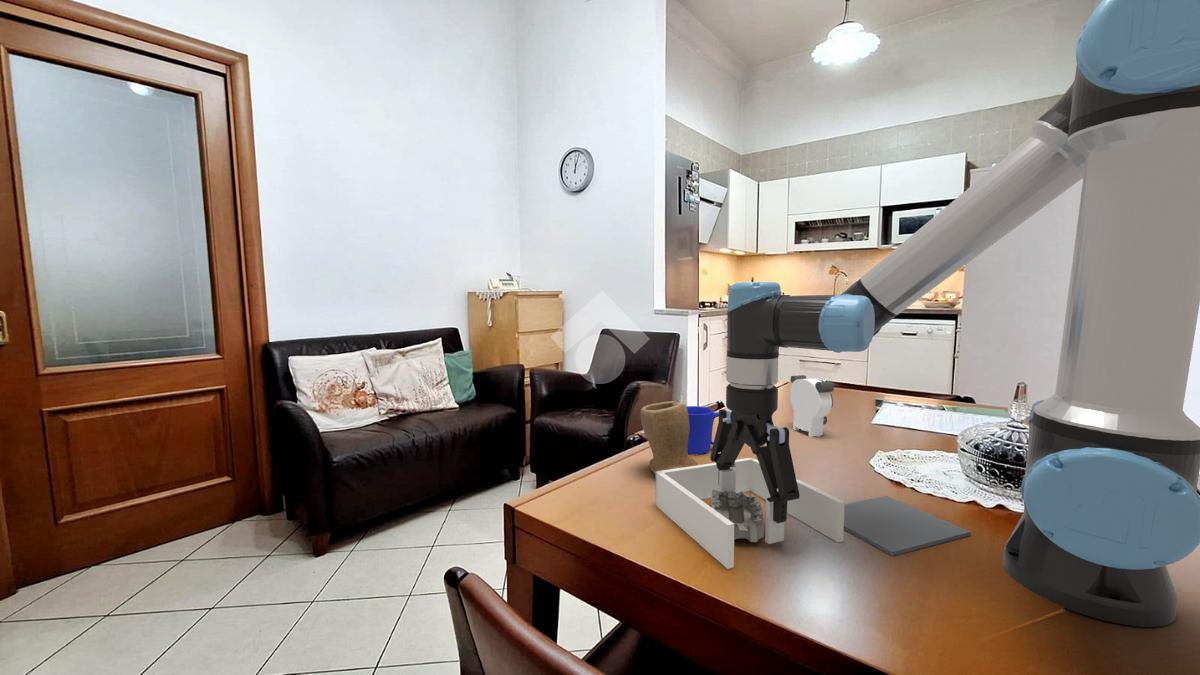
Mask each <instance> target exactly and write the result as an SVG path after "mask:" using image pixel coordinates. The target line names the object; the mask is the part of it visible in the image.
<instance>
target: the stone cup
mask: <svg viewBox="0 0 1200 675" xmlns="http://www.w3.org/2000/svg"><path fill="white" fill-rule="evenodd" d="M640 421H641V422H640V423H641V426H642V430H643V432H644V435H645V437H646V439H647V441H648V444H649V447H650V450H651V453H652V459H650V460H649V462H648V463H649V464H648V465H649V469H650V470H651V471H652V473H654V476H656V471H663V470H670V469H676V468H683V467H690V466H697V465H700V464H699V463H698V462H697V461H696V460H694V459H693V458H691V457H689V454H688V453H687V446H688V438H689V431H690V426H689V417H688V410H687V408H686V404H685V403H684V402H678V401H674V400H672V401H663V402H657V403H656V402H655V403H650V404H647V405H645V406H643V407H642V408H641V409H640Z"/></svg>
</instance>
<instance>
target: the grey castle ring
mask: <svg viewBox="0 0 1200 675" xmlns="http://www.w3.org/2000/svg"><path fill="white" fill-rule="evenodd" d="M710 499H711V500H710V501H711V502H710V505H711V506H710V507H712V508H713V509H714V510H716V511H717V512H719V513H720V514H721V515H723V516H724V517H725V518H727V519H728V520H730V521H731V522H732V523H734V541H735V540H736V539H746V540H748V541H749V542H750V543H757V542H758V541H759V540H760V539H763V538H764V537H765V524H764V517H763V516H764V514H763V508H762V504H761V503H760V501H758V499H756V494H755V495H754V493H753V492H751V493H749V494H747V495H746V494H744V492H739V493H736V492H728V491H725V492H720V491H717V490H712V497H711V498H710Z"/></svg>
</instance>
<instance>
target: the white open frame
mask: <svg viewBox="0 0 1200 675" xmlns="http://www.w3.org/2000/svg"><path fill="white" fill-rule="evenodd" d="M734 464H735V465H736V466H735V465H734V466H735V467H730V469H735V470H736V490H735V492H736V493H739V492H742V493H744V492H750V491H751V493H753V494H755V495H757V496H759V497H760V498H762V499H764V500H765V501H766V498H769V497H771V496H770V494H769V491H768V488H767V485H766V482H765V479H764V476H763V473H762V470H761V467H760V464H759V462H758V459H756V458H755V457H752V456H751V457H745V458H739V459H736V460H735V462H734ZM718 476H719V469H718V468H717V466H716V463H715V462H712V463H706V464H699V465H697V466H690V467H683V468H676V469H670V470H663V471H656V475H655V494H654V495H655V506H656V507H657V508H659V510H660V511H662V513H664V514H665V516H667V517H668V518H669V519H671V521H673V522H674V523H675V524H676V525H677V526H678V527H680V528H681V530H683V531H684V532H685V533H686V534H687V535H688V536H690V537H691V538H692V539H693V540H694V541H695V542H696V543H698V545H699V546H701V547H702V548H703V549H704V550H705V551H706V552H708V553H709V554H710V555H711V556H712V558H714V559H715V560H717V561H718V563H720V564H722V566H723V567H725V569H727V570H729V569H733V568H734V567H735V565H734V564H735V557H734V556H735V540H734V523H732V522H731V521H730V520H728V519H727V518H725V517H724V516H723V515H721V514H720V513H719V512H717V511H716V510H714V509H713V508H712V507H711V506H710V505H709V504H707V503H706V502H705V501H703V500H707V499H711V497H712V490H717V491H719V483H718V480H719V479H718V478H719V477H718ZM796 481H797V485H798V490H799V495H800V497H799V499H795V500H790V501H787V515H788V514H789V515H790V516H792V517H794V518H795V519H797V520H798V521H800V522H802V523H804V524H805V525H807V526H808V527H810V528H812V529H814V530H816V531H817V532H818V533H821V534H822V535H824V536H826V537H828V538H830V539H831V540H833V541H834V542H836V543H841V542H844V531H845V530H844V504H845V501H844V500H842V499H839V498H837V497H835V496H834V495H832V494H829V493H828V492H825V491H823V490H821V489H819V488H817V487H815V486H812V485H811V484H809V483H807V482H804V481H802V480H800V479H798V478H796ZM777 491H778V488H777Z"/></svg>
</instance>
